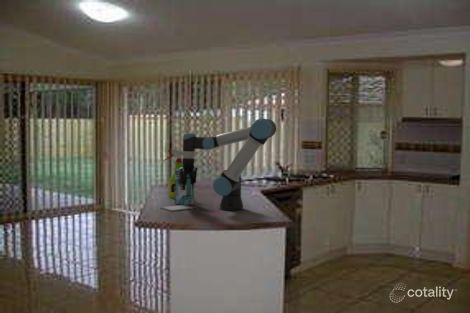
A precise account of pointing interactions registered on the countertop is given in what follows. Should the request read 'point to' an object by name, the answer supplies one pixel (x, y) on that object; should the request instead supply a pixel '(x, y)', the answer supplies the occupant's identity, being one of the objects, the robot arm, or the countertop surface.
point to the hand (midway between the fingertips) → (187, 194)
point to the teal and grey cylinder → (188, 186)
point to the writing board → (177, 208)
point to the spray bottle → (177, 166)
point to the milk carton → (179, 195)
